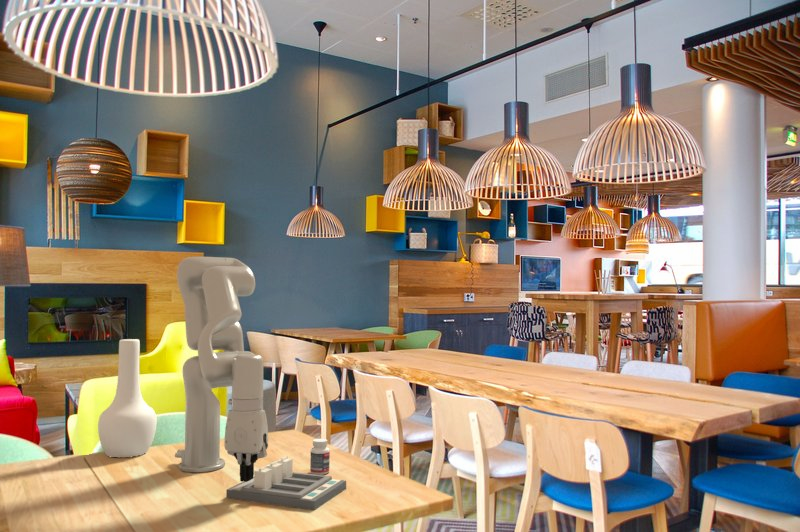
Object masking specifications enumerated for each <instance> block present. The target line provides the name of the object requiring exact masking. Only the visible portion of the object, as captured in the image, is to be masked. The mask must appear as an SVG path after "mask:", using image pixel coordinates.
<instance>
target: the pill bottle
mask: <svg viewBox="0 0 800 532" xmlns="http://www.w3.org/2000/svg"><path fill="white" fill-rule="evenodd" d="M312 446H313V447H312V448H311V449H310V466H309V467H310V469H309V471H310V474H315V475H324V476H325V475H327V474H328V473H330V452H331V451H330V448H329V447H327V446H328V439H326V438H315V439H313V440H312Z"/></svg>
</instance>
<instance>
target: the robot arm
mask: <svg viewBox="0 0 800 532" xmlns="http://www.w3.org/2000/svg"><path fill="white" fill-rule="evenodd" d="M176 281H177V286H178V290H179V292H180V295H181V297H182V301H183V305H184V321H185V337H186V343H187V346H188V348H189V349H190V350H193V351H197V355H195V356H191V357H189V358H188V359H186V361H185V362H184V363H183V365H182V378H183V385H184V393H185V394H184V395H185V396H184V397H185V401H184V402H185V406H184V407H185V421H184V422H185V423H184V449H183V448H182V449H180V448H178V449H177V451H176V452H175V453H174V457H175V458H179V459H180V458H181V462H180V463H178V470H180V471H182V472H187V473H205V472H212V471H216V470H220V469H222V468H223V467H225V465H226V460H225V459H223V458H221V457H220V453H221V451H220V450H221V449H220V444H221V443H220V441H221V440H220V439H221V403H220V400H219V398H218V397H217V396H216V394H215V393H214V392H213V390H212V389H217V388H228V387H231V398H229V399H228V401H227V402H228V405H231V409H229V410H228V413H227V417H226V422H225V427H224V429H225V430H224V443H223V444H224V449H225V451H227V454H228V455H229V456H232V457H234V458H235V460H237V465H239V480H240V481H239V482H243V481H244V482H248V481H250V480H252V479H253V477H254V471H255V463H256V462H257V461H258V459H259V460H260V459H263V458H266V457H268V453H267V449H268V447H269V428H268V427H269V426H268V420H267V418H268V417H267V414H266V410H265V409H264V358H263V356H261V355H260V354H255V353H253V352H252V351H247V350H245V346H244V334H243V333H244V332H243V329H242V328H243V327H242V326H241V323H240V322H239V321H240V320H241V318H242V315H243V313H242V309H241V305H240V301H239V297H249V296H251V295H252V294H254V291H255V289H256V279H255V275H254V272H253V271H252V269H251V268H250V267H249V266H248V265H246V263H243V262H242V261H241V260H239V259H237V258H235V257H216V256H189V257H185V258H183V259H182V260H180V261H179V263H178V266H177V270H176ZM221 350H222V351H221ZM214 351H218V352H214ZM219 351H220V352H219Z"/></svg>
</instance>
